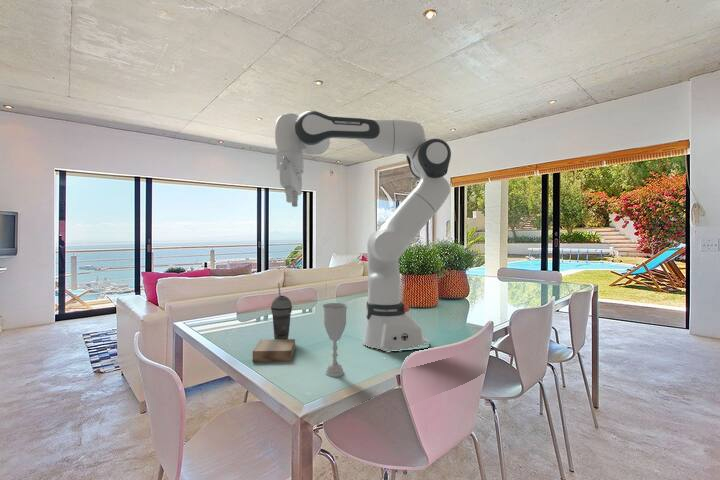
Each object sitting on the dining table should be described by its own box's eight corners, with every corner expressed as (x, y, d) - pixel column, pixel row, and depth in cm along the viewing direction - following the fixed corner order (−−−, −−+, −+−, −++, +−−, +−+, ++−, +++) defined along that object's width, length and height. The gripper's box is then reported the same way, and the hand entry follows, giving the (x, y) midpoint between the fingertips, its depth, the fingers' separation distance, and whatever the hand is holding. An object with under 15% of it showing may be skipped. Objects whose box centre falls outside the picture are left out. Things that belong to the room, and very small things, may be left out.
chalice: (322, 367, 95) (322, 303, 95) (346, 367, 96) (347, 302, 95) (321, 378, 88) (322, 308, 88) (348, 378, 88) (348, 308, 88)
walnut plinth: (294, 348, 111) (295, 339, 111) (291, 360, 100) (291, 350, 100) (260, 349, 110) (260, 339, 110) (252, 361, 99) (252, 351, 99)
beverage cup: (286, 344, 115) (287, 285, 114) (266, 343, 116) (267, 284, 116) (295, 338, 122) (295, 282, 122) (276, 336, 123) (276, 281, 123)
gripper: (294, 153, 104) (296, 198, 104) (303, 170, 125) (305, 208, 124) (273, 154, 104) (275, 200, 104) (286, 171, 125) (288, 209, 124)
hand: (292, 204), depth 114 cm, fingers open, 8 cm apart
